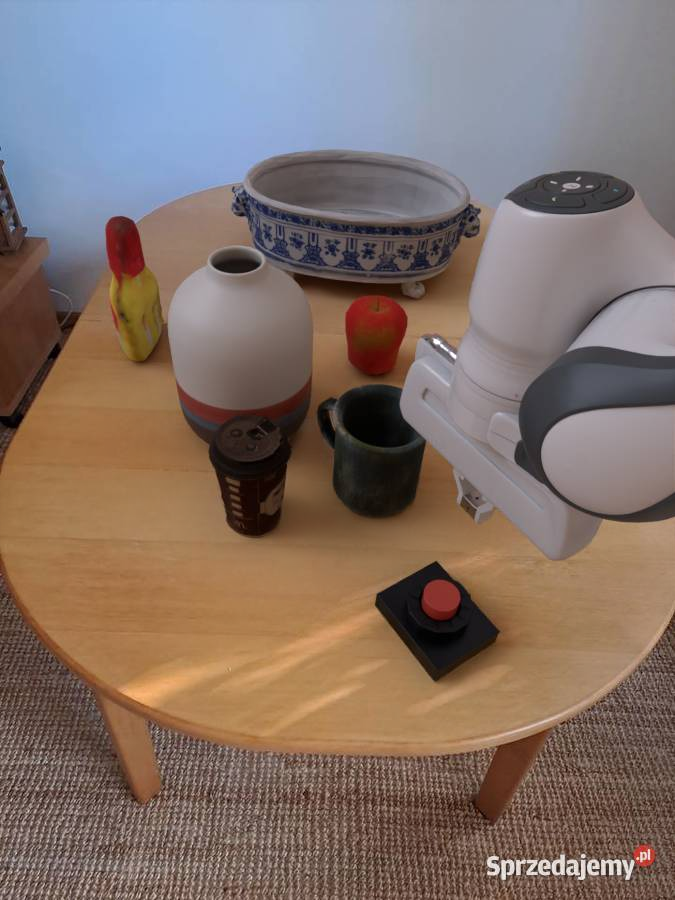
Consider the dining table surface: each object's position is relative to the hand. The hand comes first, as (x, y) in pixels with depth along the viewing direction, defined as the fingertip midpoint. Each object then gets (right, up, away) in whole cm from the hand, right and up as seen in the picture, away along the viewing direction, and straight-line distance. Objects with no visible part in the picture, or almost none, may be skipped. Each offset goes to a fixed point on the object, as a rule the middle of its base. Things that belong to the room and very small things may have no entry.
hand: (473, 511), depth 60 cm
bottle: (-41, +21, +40) cm, 61 cm away
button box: (-2, -12, +9) cm, 16 cm away
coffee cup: (-22, -2, +18) cm, 29 cm away
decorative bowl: (-10, +39, +59) cm, 72 cm away
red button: (-2, -10, +7) cm, 12 cm away
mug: (-9, +2, +23) cm, 25 cm away
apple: (-7, +18, +39) cm, 43 cm away
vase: (-24, +9, +30) cm, 39 cm away
